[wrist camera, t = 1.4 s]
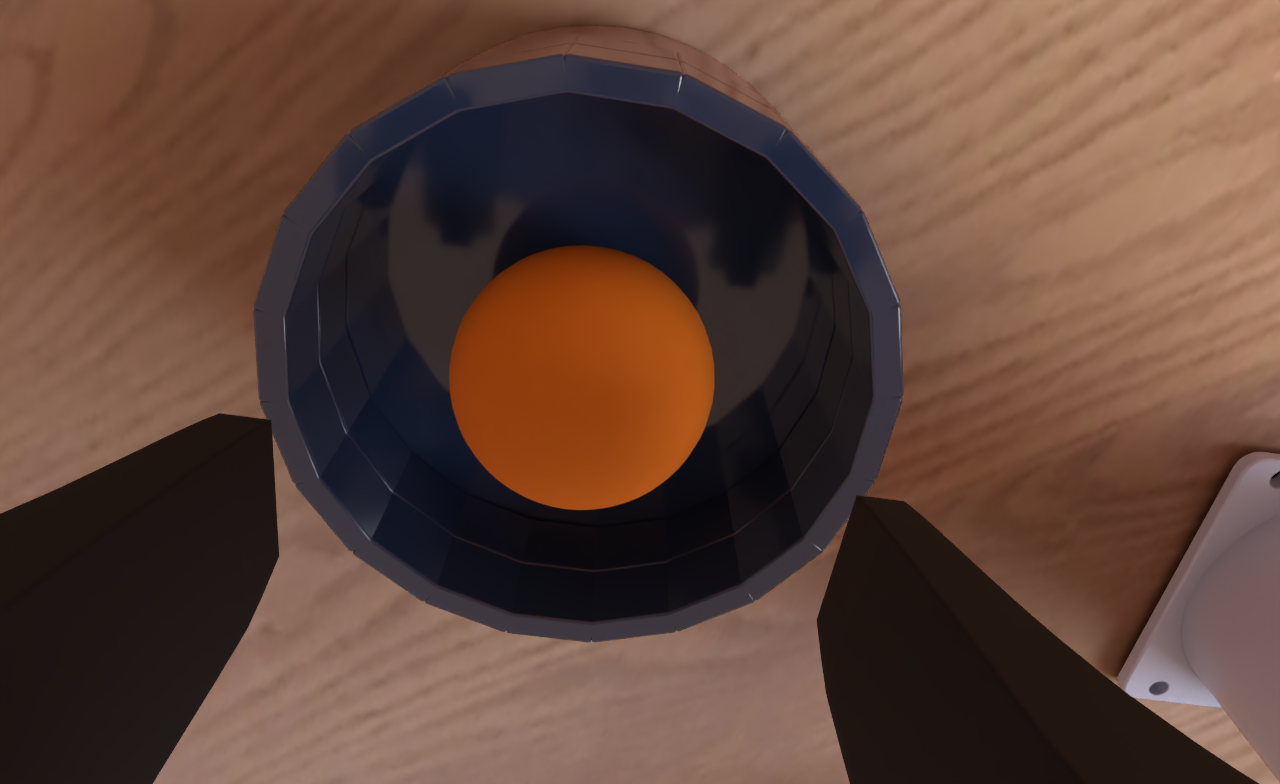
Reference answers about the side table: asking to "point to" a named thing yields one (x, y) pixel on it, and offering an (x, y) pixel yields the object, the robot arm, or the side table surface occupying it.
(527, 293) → the orange
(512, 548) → the pot
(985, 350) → the side table surface
